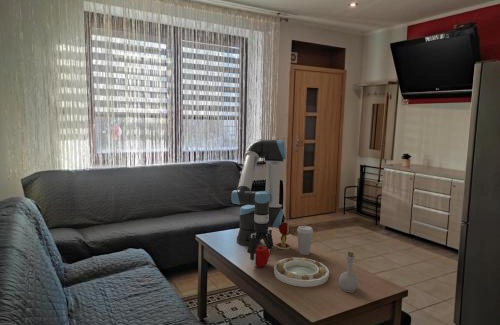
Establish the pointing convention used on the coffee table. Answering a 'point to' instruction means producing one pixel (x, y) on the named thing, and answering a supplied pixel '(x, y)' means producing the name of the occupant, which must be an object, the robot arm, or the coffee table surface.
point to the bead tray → (301, 272)
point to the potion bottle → (348, 276)
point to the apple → (261, 256)
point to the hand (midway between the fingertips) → (260, 262)
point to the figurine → (284, 236)
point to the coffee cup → (304, 239)
